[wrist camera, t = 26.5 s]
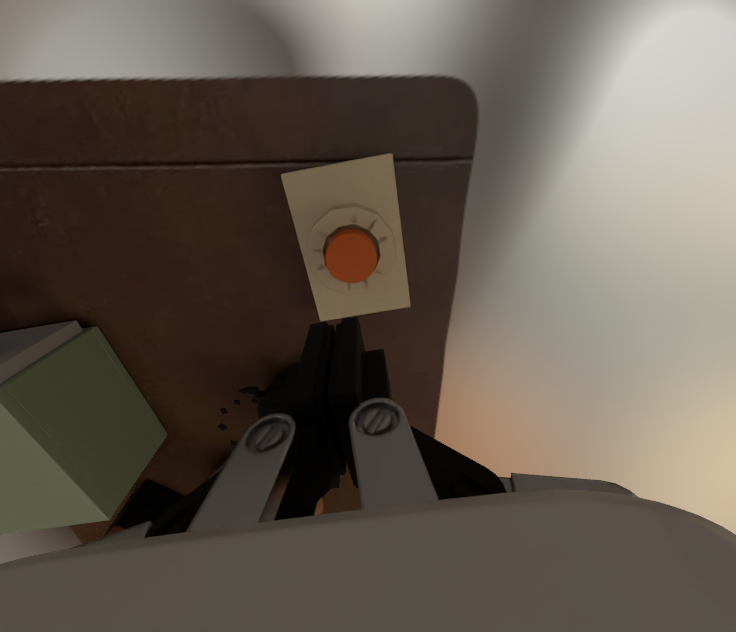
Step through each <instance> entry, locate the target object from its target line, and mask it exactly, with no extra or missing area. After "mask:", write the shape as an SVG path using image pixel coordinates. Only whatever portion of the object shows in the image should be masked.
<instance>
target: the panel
mask: <svg viewBox="0 0 736 632" xmlns="http://www.w3.org/2000/svg"><path fill="white" fill-rule="evenodd" d="M281 178H282V182H283V186H284V189H285V193H286V197H287V200H288V204H289V208H290V211H291V215H292V219H293V222H294V226H295V230H296V234H297V237H298V241H299V245H300V248H301V252H302V256H303V259H304V263H305V267H306V270H307V274H308V278H309V281H310V285H311V289H312V292H313V296H314V300H315V303H316V307H317V311H318V314H319V318H320V321H326V320H332V319H338V318H344V317H350V316H356V315H363V314H369V313H375V312H381V311H387V310H393V309H399V308H405V307H410V298H409V289H408V281H407V272H406V264H405V255H404V247H403V239H402V230H401V222H400V213H399V205H398V197H397V188H396V180H395V171H394V163H393V154H392V153H387V154H382V155H376V156H371V157H366V158H361V159H355V160H350V161H345V162H340V163H334V164H329V165H324V166H319V167H313V168H308V169H303V170H298V171H293V172H287V173H283V174H281ZM346 228H356V229H360V230H362V231H364V232H365V233H367V234H368V235H369V236H370V237H371V239H372V240H373V242H374V244H375V248H376V254H377V263H376V267H375V269H374V271H373V273H372V274H371V275H370V276H369V277H368V278H366V279H365V280H363V281H361V282H358V283H345V282H342V281H340V280H338V279H336V278H335V277H334V276H333V275H332V274H331V273H330V271H329V270H328V268H327V265H326V261H325V254H326V250H327V247H328V244H329V242H330V240H331V238H332V237H333V236H334V235H335V234H336V233H337V232H339V231H340V230H343V229H346Z"/></svg>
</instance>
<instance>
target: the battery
mask: <svg viewBox="0 0 736 632" xmlns="http://www.w3.org/2000/svg"><path fill="white" fill-rule="evenodd" d="M183 498H184V497H183V496H181V495H178V494H176V493H174V492H172V491H169V490H167V489H165V488H163V487H161V486H158V485H156V484H154V483H151V482H149V481H145V482H144V483H143V484H142V485H141V486H140V487H139V488H138V489H137V490H136V491H135V492H134V493H133V494H132V495H131V496H130V498H129V499H128V501H127V502H126V504H125V505H124V507H123V508H122V510H121V511H120V513H119V514H118V516H117V517H116V519H115V520H114V522H113V523H112V525H111V526H110V528H109V529H108V531H107V532H106V534H105V535H104V537H105V536H107V535H110V534H113V533H116V532H119V531H122V530H125V529H127V528H130V527H133V526H136V525H139V524H142V523H145V522H147V521H151V522H152V523H153V524H154V523H155V522H156V520H157V519H158V518H159V517H160V516H161V515H163V514H164V513H165V512H166V511H167V510H168V509H170V508H171V507H172V506H174V505H175V504H176V503H178V502H179V501H180V500H182V499H183Z"/></svg>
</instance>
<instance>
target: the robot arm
mask: <svg viewBox="0 0 736 632" xmlns="http://www.w3.org/2000/svg"><path fill="white" fill-rule="evenodd" d="M346 462H347V465H348V468H349V472H350V474H351V478H352V481H353V484H354V486H355V487H357V488H358V489H359V493H360V499H361V506H362V510H354V511H346V512H338V513H330V514H322V513H323V509H324V498H323V496H324V495H325V494H326V493H327V492H328V491H329V490H330V489H331V488H339V483H340V475H345V474H346ZM0 632H736V535H735V534H733V533H732V532H730V531H728V530H727V529H725V528H724V527H722V526H720V525H718V524H716V523H714V522H712V521H709V520H707V519H705V518H703V517H701V516H699V515H696V514H693V513H690V512H687V511H685V510H682V509H679V508H676V507H673V506H670V505H666V504H663V503H660V502H655V501H651V500H647V499H642V498H639V497H637V496H636V495H635V494H634V493H632V492H631V491H630V490H628V489H626V488H623V487H622V486H619V485H617V484H615V483H611V482H606V481H601V480H590V479H589V480H588V479H577V478H565V477H552V476H540V475H528V474H515V473H511V478H505V477H497V475H496V474H494V473H493V472H492V471H490V470H489V469H487V468H486V467H484V466H482V465H480V464H479V463H477V462H475V461H473V460H471V459H470V458H468V457H466V456H464V455H462V454H461V453H459V452H457V451H455V450H453V449H452V448H450V447H448V446H446V445H444V444H442V443H441V442H439V441H437V440H435V439H433V438H432V437H430V436H428V435H426V434H424V433H422V432H421V431H419V430H417V429H415V428H413V427H412V426H410V425H409V422H408V420H407V417H406V415H405V412H404V410H403V409H402V407H401V405H400V404H398V403H397V402H395V401H394V400H392V398H391V391H390V384H389V377H388V371H387V365H386V359H385V354H384V349H379V350H373V351H366V352H365V349H364V344H363V339H362V334H361V330H360V325H359V320H358V317H353V318H347V319H342V323H341V324H337V326H336V334H335V330H334V326H333V325H329V326H328V324H327V322H323V323H317V324H311V325H310V328H309V332H308V335H307V339H306V342H305V346H304V349H303V353H302V356H301V360H300V362H296V363H292V365H291V367H290V370H289V373H288V376H287V379H286V382H285V385H284V388H283V391H282V394H281V397H280V400H279V404H278V407H277V410H276V413H272V414H269V415H266V416H263V417H261V418H259V419H258V420H256V421H254V422H253V423H252V424H251V425H250V426H249V427H248V428H247V429H246V430H245V432H244V433H243V434H242V436H241V438H240V439H239V441H238V443H237V445H236V446H235V448H234V450H233V451H232V453H231V455H230V456H229V458H228V460H227V462H226V463H225V465H224V467H223V468H222V469H221V470H220V471H218V472H217V473H216V474H214V475H213V476H212V477H211V478H209V479H208V480H207V481H205V482H204V483H203V484H201V485H200V486H199V487H197V488H196V489H195V490H193V491H192V492H191V493H189V494H188V495H187V496H186V497H184V498H183V499H182V500H180V501H179V502H178V503H176V504H175V505H174V506H172V507H171V508H170V509H168V510H167V511H166V512H165V513H164V514H163V515H161V516H160V517H159V518H158V519H157V520H156V522H155V523H154V524H153V523H152V522H151V521H147V522H145V523H142V524H139V525H136V526H133V527H130V528H127V529H125V530H122V531H119V532H116V533H113V534H110V535H107V536H105V537H102V538H99V539H96V540H93V541H90V542H87V543H84V544H82V545H79V546H76V547H73V548H70V549H66V550H60V551H55V552H50V553H45V554H40V555H35V556H30V557H25V558H21V559H17V560H14V561H10V562H6V563H3V564H0Z"/></svg>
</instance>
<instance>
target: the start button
mask: <svg viewBox="0 0 736 632" xmlns="http://www.w3.org/2000/svg"><path fill="white" fill-rule="evenodd" d="M325 261H326V265H327V268H328V270H329V271H330V273H331V274H332V275H333V276H334V277H335V278H336V279H338V280H340V281H342V282H345V283H358V282H361V281H363V280H365V279H366V278H368V277H369V276H370V275H371V274H372V273H373V271H374V269H375V267H376V263H377V254H376V248H375V244H374V242H373V240H372V239H371V237H370V236H369V235H368V234H367V233H365V232H364V231H362V230H360V229H356V228H346V229H343V230H340V231H339V232H337V233H336V234H335V235H334V236H333V237H332V238H331V240H330V242H329V244H328V247H327V250H326V254H325Z"/></svg>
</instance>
